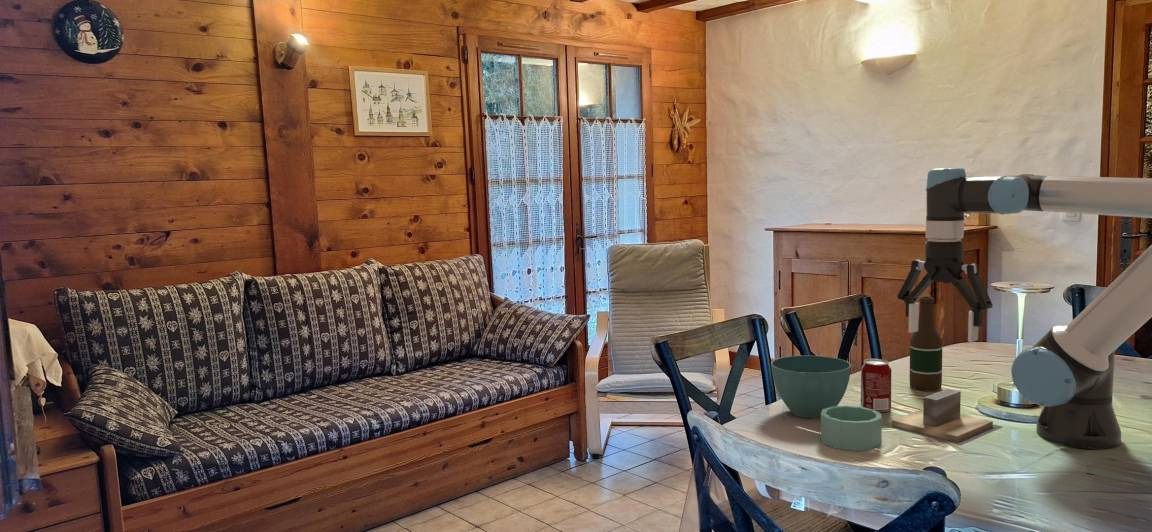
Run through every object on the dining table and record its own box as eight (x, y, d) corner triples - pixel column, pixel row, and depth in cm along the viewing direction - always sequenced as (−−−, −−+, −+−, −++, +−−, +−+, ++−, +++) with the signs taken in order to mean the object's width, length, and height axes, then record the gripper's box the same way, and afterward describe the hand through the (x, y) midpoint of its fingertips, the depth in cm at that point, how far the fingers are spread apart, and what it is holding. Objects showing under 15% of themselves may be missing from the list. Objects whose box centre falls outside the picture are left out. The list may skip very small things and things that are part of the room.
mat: (1002, 428, 176) (1002, 426, 176) (960, 447, 166) (960, 445, 166) (925, 410, 191) (925, 409, 191) (881, 427, 180) (881, 425, 180)
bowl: (892, 441, 171) (893, 414, 170) (859, 455, 163) (859, 426, 163) (843, 428, 180) (843, 402, 180) (809, 440, 173) (809, 413, 172)
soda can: (893, 415, 189) (893, 365, 187) (863, 414, 190) (863, 364, 189) (888, 406, 195) (888, 358, 194) (859, 406, 197) (859, 358, 195)
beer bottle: (948, 389, 209) (950, 297, 206) (925, 392, 206) (926, 300, 203) (925, 382, 216) (926, 293, 213) (902, 385, 213) (903, 296, 210)
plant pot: (756, 415, 192) (756, 365, 191) (796, 398, 205) (796, 351, 203) (826, 430, 179) (826, 376, 178) (864, 411, 192) (864, 361, 191)
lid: (992, 426, 177) (993, 394, 176) (957, 441, 168) (957, 408, 167) (928, 411, 189) (928, 381, 188) (891, 425, 180) (892, 394, 179)
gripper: (1012, 241, 166) (1008, 342, 168) (901, 235, 186) (899, 326, 188) (994, 244, 162) (991, 347, 164) (882, 238, 181) (881, 330, 184)
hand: (942, 336), depth 176 cm, fingers open, 13 cm apart
